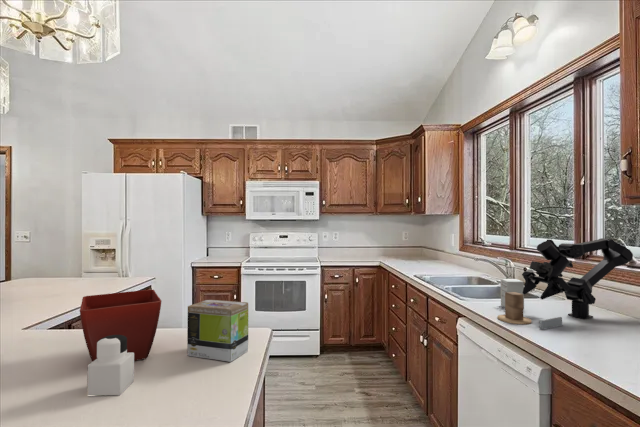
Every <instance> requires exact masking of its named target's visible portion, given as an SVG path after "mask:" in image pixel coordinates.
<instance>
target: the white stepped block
mask: <svg viewBox="0 0 640 427" xmlns="http://www.w3.org/2000/svg"><path fill="white" fill-rule="evenodd" d="M134 380H135V361H134V353H133V352H131V353H127V337H126V336H123V335H110V336H106V337H103V338H101V339H100V340H99V341H98V342H97V359H96V360H94V361H93V362H92V361H91V363H89V364H87V379H86V381H87V384H86V385H87V386H86V388H87V391H86V392H87V394H86V396H87V395H118V396H120V395H122V393H124V392H125V390H127V389H128V387H130V385H132V384H133V383H134Z"/></svg>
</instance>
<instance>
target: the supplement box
mask: <svg viewBox="0 0 640 427" xmlns="http://www.w3.org/2000/svg"><path fill="white" fill-rule="evenodd" d="M524 286H525V281H524V280H520V279H518V278H500V306H502V307H503V308H505V292H516V293H520V294H523V289H524ZM523 310H525V295H524V294H523Z"/></svg>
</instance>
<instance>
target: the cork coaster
mask: <svg viewBox="0 0 640 427" xmlns="http://www.w3.org/2000/svg"><path fill="white" fill-rule="evenodd" d="M496 318H497V320H498V321H500V322H503V323H507V324H513V325H530V324H533V321H532V319H530V318H529V317H526V316H523V320H511V319H509V318H506V317H505V313H504V314H499V315H497V317H496Z"/></svg>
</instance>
